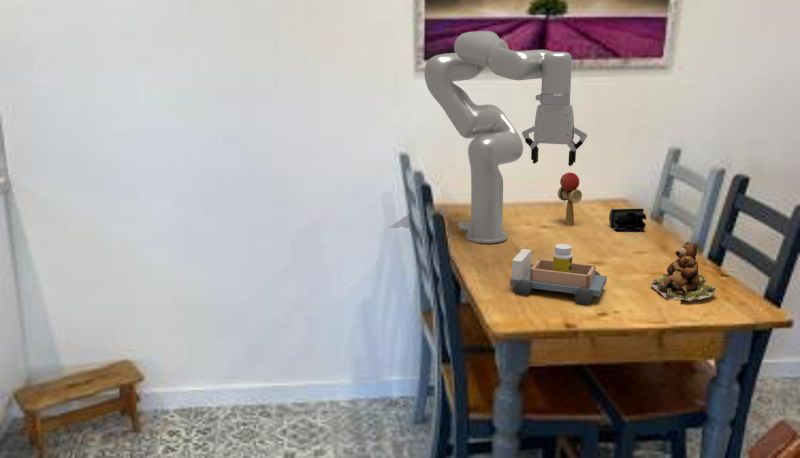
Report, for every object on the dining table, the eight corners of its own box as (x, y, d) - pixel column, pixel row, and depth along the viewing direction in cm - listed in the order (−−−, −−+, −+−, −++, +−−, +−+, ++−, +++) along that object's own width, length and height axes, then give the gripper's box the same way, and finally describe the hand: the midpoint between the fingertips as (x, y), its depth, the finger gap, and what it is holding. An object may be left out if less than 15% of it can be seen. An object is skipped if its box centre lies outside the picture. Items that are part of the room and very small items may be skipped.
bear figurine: (639, 285, 199) (643, 240, 195) (690, 279, 202) (694, 234, 199) (671, 304, 186) (675, 256, 182) (724, 297, 190) (729, 250, 186)
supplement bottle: (571, 281, 191) (573, 249, 189) (552, 280, 192) (553, 248, 190) (571, 275, 196) (572, 243, 194) (552, 274, 197) (553, 243, 194)
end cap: (639, 226, 249) (640, 206, 247) (646, 232, 242) (647, 212, 240) (608, 227, 249) (609, 207, 247) (614, 233, 242) (616, 212, 240)
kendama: (554, 224, 252) (556, 170, 247) (572, 223, 253) (575, 169, 248) (563, 231, 245) (565, 175, 240) (582, 229, 246) (584, 174, 241)
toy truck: (508, 294, 193) (509, 262, 191) (522, 276, 206) (523, 246, 203) (597, 306, 185) (599, 273, 182) (607, 286, 197) (608, 255, 195)
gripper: (519, 100, 203) (518, 164, 208) (586, 102, 196) (582, 168, 201) (526, 97, 210) (525, 159, 215) (591, 99, 203) (587, 163, 208)
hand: (552, 163), depth 208 cm, fingers open, 9 cm apart
